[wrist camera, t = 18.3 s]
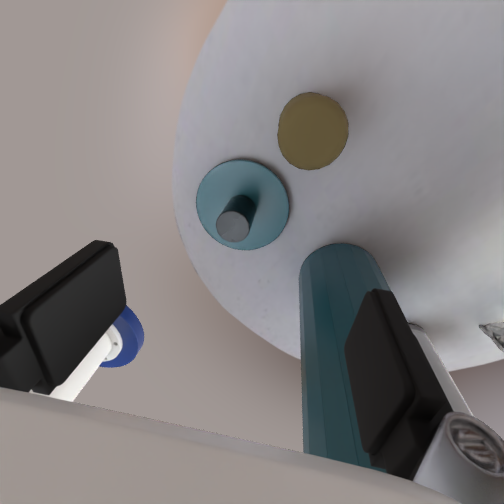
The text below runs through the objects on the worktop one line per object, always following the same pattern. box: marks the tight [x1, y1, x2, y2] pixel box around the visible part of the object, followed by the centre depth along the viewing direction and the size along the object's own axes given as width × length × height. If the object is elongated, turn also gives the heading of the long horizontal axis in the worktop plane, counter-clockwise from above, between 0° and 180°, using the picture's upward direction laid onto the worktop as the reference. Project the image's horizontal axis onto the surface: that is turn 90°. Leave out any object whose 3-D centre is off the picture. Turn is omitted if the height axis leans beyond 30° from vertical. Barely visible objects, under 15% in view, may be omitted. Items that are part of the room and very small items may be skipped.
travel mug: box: [409, 324, 473, 416], centre depth 32 cm, size 6×7×20 cm
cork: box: [277, 92, 348, 170], centre depth 24 cm, size 6×6×11 cm
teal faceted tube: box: [299, 244, 391, 473], centre depth 23 cm, size 10×10×32 cm
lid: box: [196, 159, 289, 250], centre depth 31 cm, size 11×11×7 cm
